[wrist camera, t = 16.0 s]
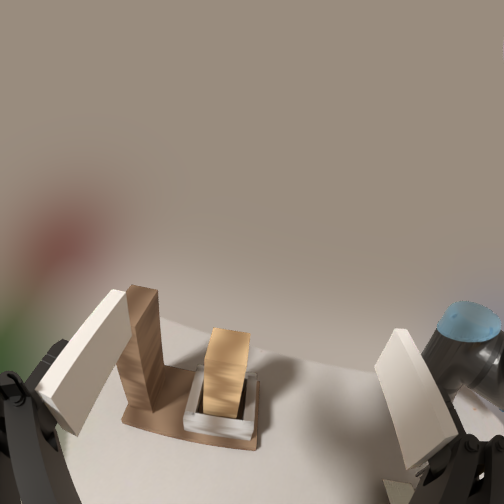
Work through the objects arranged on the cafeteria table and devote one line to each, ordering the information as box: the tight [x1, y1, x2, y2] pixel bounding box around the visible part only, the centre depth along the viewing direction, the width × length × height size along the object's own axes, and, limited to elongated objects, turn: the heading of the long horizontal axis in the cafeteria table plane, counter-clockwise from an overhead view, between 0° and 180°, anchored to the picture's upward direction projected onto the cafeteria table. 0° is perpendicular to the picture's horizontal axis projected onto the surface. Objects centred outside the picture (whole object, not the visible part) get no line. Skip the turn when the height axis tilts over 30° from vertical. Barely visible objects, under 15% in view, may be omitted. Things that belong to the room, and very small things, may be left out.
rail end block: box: [203, 328, 250, 419], centre depth 36 cm, size 5×6×15 cm
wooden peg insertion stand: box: [116, 285, 260, 451], centre depth 35 cm, size 21×14×20 cm, turn 87°
